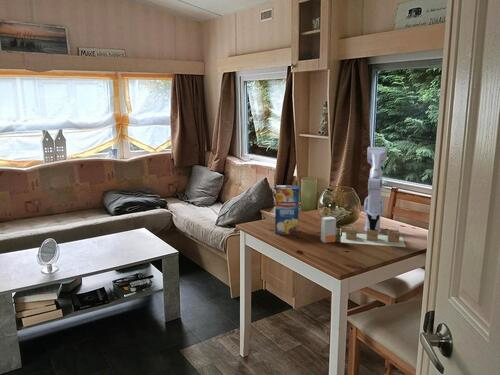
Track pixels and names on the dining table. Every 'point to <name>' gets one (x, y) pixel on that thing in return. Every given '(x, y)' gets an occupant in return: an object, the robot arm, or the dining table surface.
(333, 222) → the skincare box
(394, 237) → the one dot block
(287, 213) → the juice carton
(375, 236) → the plain block
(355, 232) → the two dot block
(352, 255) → the dining table surface
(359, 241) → the sage mat
